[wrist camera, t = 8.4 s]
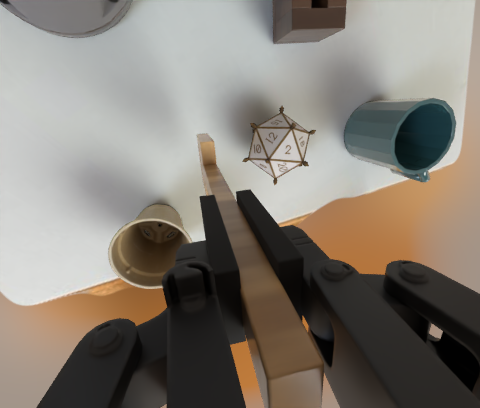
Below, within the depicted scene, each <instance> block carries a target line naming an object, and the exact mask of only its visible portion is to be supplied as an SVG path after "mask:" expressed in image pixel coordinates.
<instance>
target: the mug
mask: <svg viewBox="0 0 480 408" xmlns="http://www.w3.org/2000/svg"><path fill="white" fill-rule="evenodd" d="M455 127H456V120H455V116H454V112H453V109H452V108H451V107H450V106H449V105H448V104H447V103H446V102H445V101H443V100H439V99H435V98H422V99H396V100H376V101H370V102H367V103H365V104H363V105H361V106H360V107H358V108H357V109H356V110H355V111H354V112H353V113H352V115H351V116H350V118H349V119H348V121H347V124H346V127H345V131H344V142H345V146H346V148H347V150H348V152H349V153H350V154H351V155H352V156H353V157H355V158H357V159H359V160H363V161H366V162H369V163H373V164H376V165H379V166H383V167H386V168H389V169H390V170H391V172H392V173H395V174H398V175H401V176H404V177H407V178H410V179H414V180H417V181H420V182H428V181H429V180H430V176H429V172H428V170H429V169H430V168H432V167H433V166H435V165H436V164H438V163H439V162H440V160H441V159H442V158H443V157H444V155H445V154H446V153H447V152H448V150H449V148H450V146H451V143H452V141H453V139H454V135H455Z"/></svg>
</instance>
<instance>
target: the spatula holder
mask: <svg viewBox="0 0 480 408" xmlns="http://www.w3.org/2000/svg"><path fill="white" fill-rule="evenodd" d="M345 16H346V0H273V39H274V44H284V43H306V42H319V41H321V40H323V39H325V38H327V37H329V36H331V35H333V34H335V33H337V32H339V31H341V30H343V29H344V28H345Z"/></svg>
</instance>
